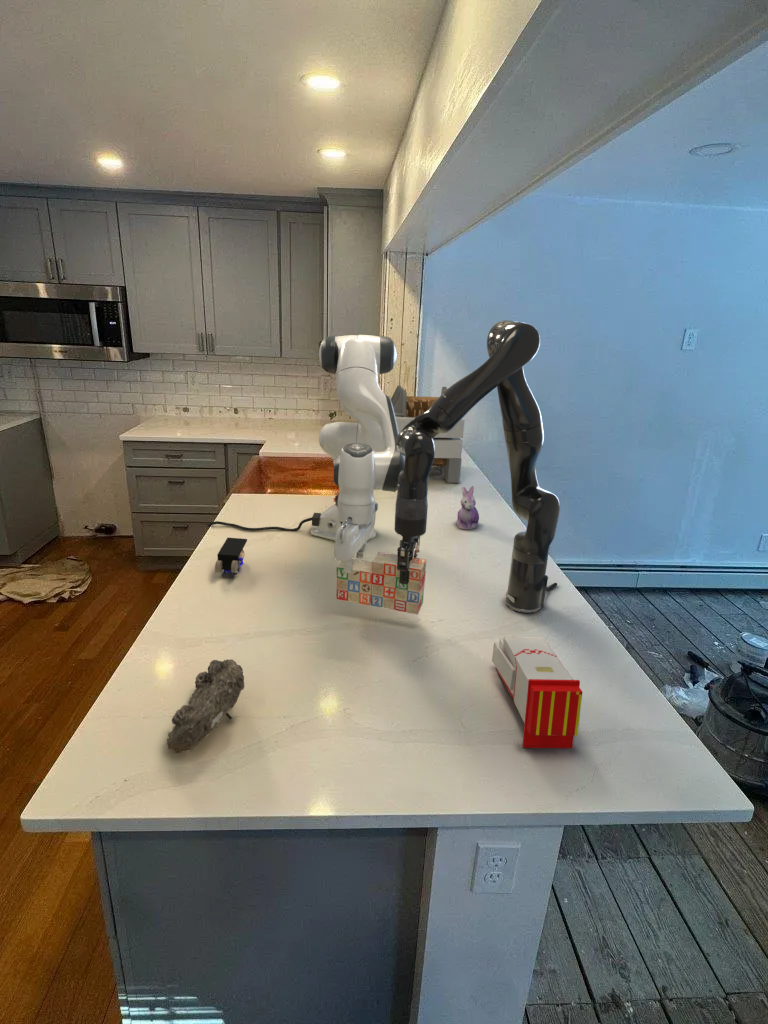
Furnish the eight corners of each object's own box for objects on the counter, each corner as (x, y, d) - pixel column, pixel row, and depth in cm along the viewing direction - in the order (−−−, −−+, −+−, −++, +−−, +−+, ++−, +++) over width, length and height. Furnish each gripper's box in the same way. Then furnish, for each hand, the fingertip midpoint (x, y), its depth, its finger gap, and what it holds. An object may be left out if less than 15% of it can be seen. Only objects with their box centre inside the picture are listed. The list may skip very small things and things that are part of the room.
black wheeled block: (238, 584, 162) (249, 557, 175) (236, 562, 158) (247, 536, 172) (215, 584, 161) (227, 556, 175) (212, 561, 158) (225, 535, 171)
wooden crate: (382, 463, 289) (386, 382, 275) (445, 464, 293) (451, 384, 279) (390, 482, 257) (394, 392, 243) (460, 483, 261) (468, 394, 247)
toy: (540, 620, 128) (592, 687, 99) (535, 674, 131) (584, 755, 102) (487, 619, 128) (523, 686, 99) (483, 673, 131) (517, 754, 101)
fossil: (192, 660, 117) (244, 628, 112) (224, 691, 120) (276, 661, 115) (142, 746, 98) (202, 712, 93) (182, 779, 101) (242, 748, 96)
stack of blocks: (335, 600, 143) (335, 555, 139) (343, 589, 149) (344, 546, 144) (418, 614, 138) (421, 568, 133) (423, 602, 143) (426, 558, 139)
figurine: (464, 532, 204) (468, 492, 199) (449, 522, 212) (452, 484, 207) (486, 528, 208) (490, 489, 203) (469, 519, 216) (473, 481, 211)
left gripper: (354, 527, 126) (352, 583, 131) (380, 501, 145) (378, 551, 150) (327, 524, 128) (327, 579, 133) (356, 498, 147) (355, 547, 151)
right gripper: (420, 525, 126) (415, 593, 131) (432, 505, 139) (428, 567, 144) (387, 521, 127) (384, 587, 133) (403, 501, 140) (400, 563, 146)
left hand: (354, 564), depth 141 cm, fingers open, 8 cm apart
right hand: (407, 577), depth 139 cm, fingers closed on stack of blocks, 6 cm apart
